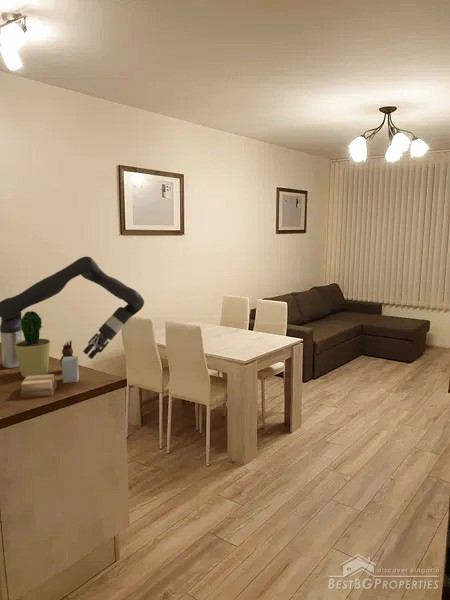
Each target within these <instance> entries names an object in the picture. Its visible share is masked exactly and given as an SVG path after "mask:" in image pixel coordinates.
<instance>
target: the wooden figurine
mask: <svg viewBox="0 0 450 600" xmlns="http://www.w3.org/2000/svg"><path fill="white" fill-rule="evenodd" d="M72 347H73V346H72V339H70V341H69V340H67V341H66V343H65V344H63V348H62V350H61V354H62V356H61V357H60V359H59V360H60V361H59V362H60V367H61V368H62V359H63V357H73V356H74V355H73V354H74V350H73V348H72Z"/></svg>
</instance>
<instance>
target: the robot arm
mask: <svg viewBox="0 0 450 600" xmlns="http://www.w3.org/2000/svg"><path fill="white" fill-rule="evenodd" d="M78 276H81V277H83V278H84V279H86V280H88V281H90V282H92V283H95V284H97V285H99V287H102V288H103V289H105V290H106V291H107V292H109V293H110V294H111V295H113V296H114V297H115V298H118V299H120V300H123V302H125V303H126V305H125V306H124V307H122V306H120V307H118V308H117V309H116V310H115V311H114V312H113V313H112V314H111V315H110V316H109V317H108V318H107V319H106V320H105V322H104V323H103V324H101V326H100V327H99V329H98V332H99V333H97V332H96V333H95V334H94V335H93V336H92V337H91V338H90V340H88V344H87V346H86V347H85V348H84V349H83V350H82V352H83V353H84V354H85V355H88V356H87V357H88V358H89V359H91V360H93V358H95V356H97V354H98V353H100V354H101V353H103V350H104V349H105V348H106V347H108V345H109V343H110V342H109V341H112V340H113V339H114V338H115V337H116V336H117V334H118V333H119V332H120V331H121V330H122V328H123V327H124V325H125V324H126V323H127V322H128V321H129V319H131V317H133V316H134V315H136V314H137V313H138V312H140V311H141V310H142V308H143V307H144V305H145V300H144V298H143V296H142V295H141V293H139V291H137V290H135V289H133V288H131V287H129V286H127V284H124V283H123V282H122V281H121V280H119V279H116V278H115V277H112V276H109V275H108V274H106V273H105V272H104V271H103V270H102V269H101V268H100V266H99V265H98V264H97V262H96V261H95V260H94V259H93V258H92V257H90V256H88V255H87V256H83V257H80V258H78V259H77V260H75V261H73V262H72V263H71V264H69V265H67V266H65V267H63V269H61V270H59V271H57V272H55V273H53V274H51V275H49V276H47V277H44V278H43V279H42V280H39V281H38V282H36V283H34V284H33V285H30V287H28V288H27V289H25V290H24V291H22V292H21V293H19V294H16V295H15V296H12V297H7V298H4V299H2V300H1V301H0V318H1V320H0V321H1V322H0V343H1V355H2V357H1V358H2V367H3V368H7V369H11V368H12V369H13V368H20V366H19V362H18V358H17V354H16V350H15V345H14V344H15V343H16V342H19V341H22V340H23V337H22V336H23V334H22V333H21V332H22V330H21V329H20V328H21V321H22V312H23V311H24V310H26V309H27V308H29V307H31V306H34V305H36V304H39V303H41V302H44V301H46V300H48V299H50V298H52V297H55V296H56V295H58V294H59V293H60V292H62V291H63V290H64V288H65V287H66V286H67V284H68V283H69V282H70V281H71V280H73V279H75V278H77V277H78ZM19 323H20V324H19Z"/></svg>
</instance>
